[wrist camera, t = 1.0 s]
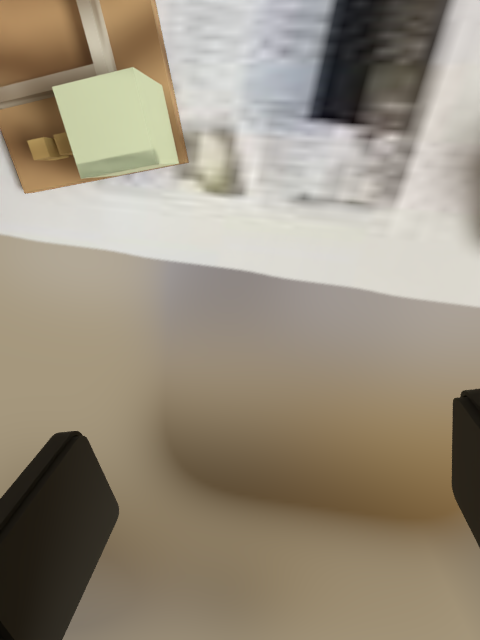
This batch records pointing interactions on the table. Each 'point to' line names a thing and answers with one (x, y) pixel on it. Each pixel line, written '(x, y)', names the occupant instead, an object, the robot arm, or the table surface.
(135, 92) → the block
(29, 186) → the stand
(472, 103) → the table surface
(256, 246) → the table surface
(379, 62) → the table surface
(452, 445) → the robot arm
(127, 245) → the table surface
